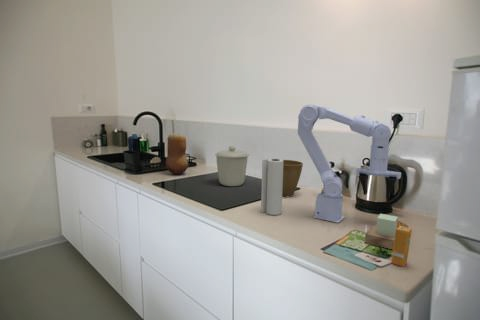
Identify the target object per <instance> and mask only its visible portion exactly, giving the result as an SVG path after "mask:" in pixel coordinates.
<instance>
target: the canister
mask: <svg viewBox="0 0 480 320" xmlns="http://www.w3.org/2000/svg"><path fill="white" fill-rule="evenodd" d="M214 155H215V157H216V167H217V175H218V181H219V183H220V185H222V186H226V187H238V186H242V185H243V184H244V183H245V180H246V173H247V166H248V158H249V156H250V154H249V153H248V152H246V151H243V150H236V147H235V146H234V145H229V147H228V149H227V150H226V149H225V150H220V151H218V152H216V153H215V154H214Z"/></svg>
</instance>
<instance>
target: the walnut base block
mask: <svg viewBox="0 0 480 320" xmlns="http://www.w3.org/2000/svg"><path fill="white" fill-rule="evenodd" d="M376 226H377V224H372V225H371V227H370V228H369V229H368V230H367V231H366V232H365V234H364V244H367V245H372V246H376V247H379V246H380V248H383V247H384V248H383V249H387V248H388V249H389V250H391V249H392V250H391V251H393V246H394V239H395V235H394V237H390V236H386V235H381V234H377V233H376Z"/></svg>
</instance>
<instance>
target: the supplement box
mask: <svg viewBox="0 0 480 320" xmlns="http://www.w3.org/2000/svg"><path fill="white" fill-rule="evenodd" d="M411 236H412V228H410V227H408V228H407V227H404V226H399V227H398V228H397V229H396V232H395V239H394V246H393V250H392V254H391V255H392V256H391V260H390V261H391V262H390V263H391V264H394V265H395V266H399V267H402V268H404V267H405V266H406V264H408V263H407V262H408V258H409V249H410V244H411Z"/></svg>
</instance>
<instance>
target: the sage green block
mask: <svg viewBox="0 0 480 320" xmlns="http://www.w3.org/2000/svg"><path fill="white" fill-rule="evenodd" d="M398 217H399V216H395V215H390V214H384V213H379V215H378V217H377V218H376V225H377V226H376V233H377V234H381V235H386V236H390V237H394V235H395V232H396V229H397V220H398V221H399V219H398Z"/></svg>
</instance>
